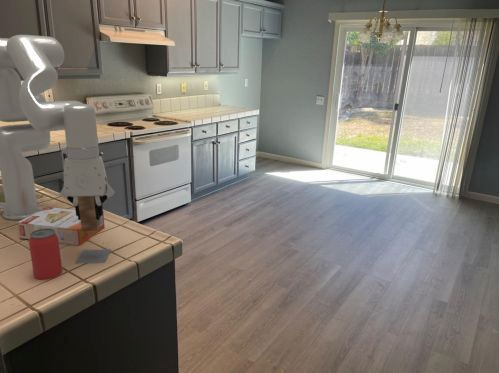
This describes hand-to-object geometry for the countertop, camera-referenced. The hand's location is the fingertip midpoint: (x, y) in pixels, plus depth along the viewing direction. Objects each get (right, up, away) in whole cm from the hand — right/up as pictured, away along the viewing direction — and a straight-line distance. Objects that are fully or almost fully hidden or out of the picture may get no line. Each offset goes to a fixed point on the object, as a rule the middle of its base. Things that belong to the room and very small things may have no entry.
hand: (90, 217), depth 105 cm
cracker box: (-5, -5, +15) cm, 17 cm away
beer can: (-9, -15, -5) cm, 18 cm away
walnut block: (0, -3, +1) cm, 3 cm away
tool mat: (-1, -12, +4) cm, 12 cm away
